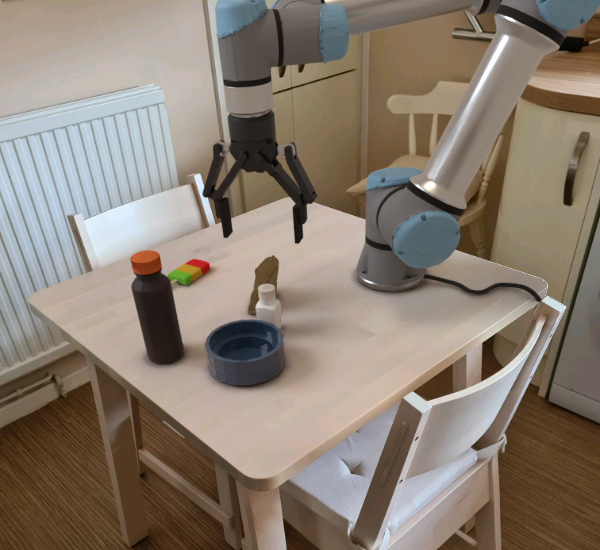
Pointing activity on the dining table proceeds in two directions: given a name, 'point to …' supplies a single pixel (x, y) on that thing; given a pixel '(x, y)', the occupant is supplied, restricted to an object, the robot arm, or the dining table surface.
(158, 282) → the vinegar
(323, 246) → the dining table surface
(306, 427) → the dining table surface
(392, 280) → the robot arm
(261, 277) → the rock
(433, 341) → the dining table surface
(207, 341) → the bowl
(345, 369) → the dining table surface
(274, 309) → the pepper shaker
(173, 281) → the popsicle
